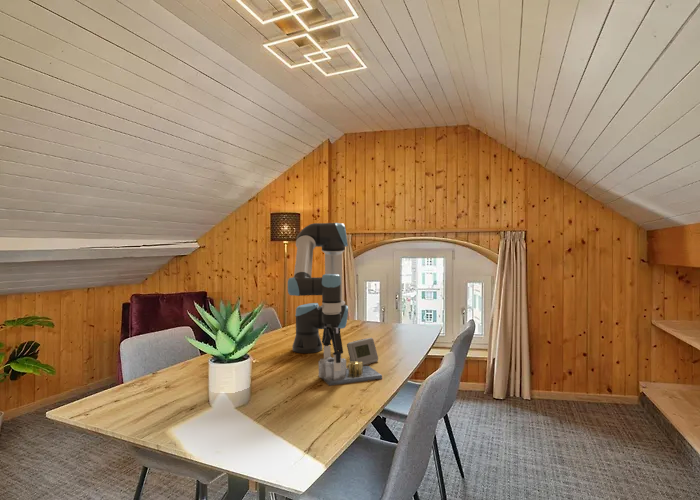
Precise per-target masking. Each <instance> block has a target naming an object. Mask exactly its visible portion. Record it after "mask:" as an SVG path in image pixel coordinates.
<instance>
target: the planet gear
mask: <svg viewBox="0 0 700 500" xmlns="http://www.w3.org/2000/svg"><path fill="white" fill-rule="evenodd" d="M346 368H347V359H346V358H342V357H341V371H334V357H332V356H331V357H326V358H324V357H323V358H320V359H319V360H318V377H319V378H321V379H322V378H323V377H324V378H325V379H334V380H336V379H340V378H342V377H345V375H346Z"/></svg>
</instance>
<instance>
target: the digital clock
mask: <svg viewBox="0 0 700 500" xmlns="http://www.w3.org/2000/svg"><path fill="white" fill-rule="evenodd" d="M346 347H347V352H348V356H349V357H348V358H349V362H350V361H351V362H355V361H358V362H363V366H369V365H371V363H372V364H374V363H376V362H378V361H379V355H378V352H377V348H376V344H375V341H374V338H373V337H368V338H363V339H358V340H357V339H356V340H353V341H350V342H347V344H346Z"/></svg>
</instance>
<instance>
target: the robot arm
mask: <svg viewBox="0 0 700 500" xmlns="http://www.w3.org/2000/svg"><path fill="white" fill-rule="evenodd" d="M295 247H296V255H295V264H294V273H293V277H289V278H288V279H287V293H288V295H289V296H296V297H299V296H321V298H322V302H321V304H322V305H319V303H318V302H311V303H305V304H300V305H298V306H297V307H296V308H295V315H294V316H295V337H294V340H293V343H292V352H293V353H296V354H297V353H298V354H313V353H317V352H321V351H323V359H324V358H326V357H332V356H331V346H332V348H333V352H332V355H333V358H334V371H341V359H342V354H344V349H343V344H342V343H343V341H342V336H341V335H342V334H341V329H345V328H346V326H347V323H348V316H349V315H348V314H349V313H348V312H349V305H346V301H345V300H343V253H344V252H345V251H346V247H348V238H347V231H346V226H345V223H341V222H324V223H323V222H315V223H310V224H308V225H307V226H304V228H302V229H301V231H299V233H298V234H297V237H296V240H295ZM316 247H317V248H320V247H321V251H322V253H324V274H322V276H321V277H312V274H313V273H312V272H313V260H314V259H313V257H314V250H315V248H316ZM320 330H322V331H323V332H322V337H320V333H319V331H320ZM321 338H322V339H321ZM331 342H332V343H331Z"/></svg>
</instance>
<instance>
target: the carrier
mask: <svg viewBox="0 0 700 500" xmlns="http://www.w3.org/2000/svg"><path fill="white" fill-rule="evenodd" d="M321 379H322V380H323V381H324V382H325V383H326V384H327V385H328V386H336V385H346V384H352V383H359V382H361V383H362V382H367V381H368V380H369V381H375V379H377V380H382V379H383V375H382V374H381V373H379V372H378V371H377V370H375V369H374V368H372V367H371V366H369V365H365V366H363V362H358V361H355V362H351V361H350V360H349V362H348V367H346V375H345V377H342V378H340V379H336V380H334V379H325V378H324V377H323V378H321ZM369 381H368V382H369Z"/></svg>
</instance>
